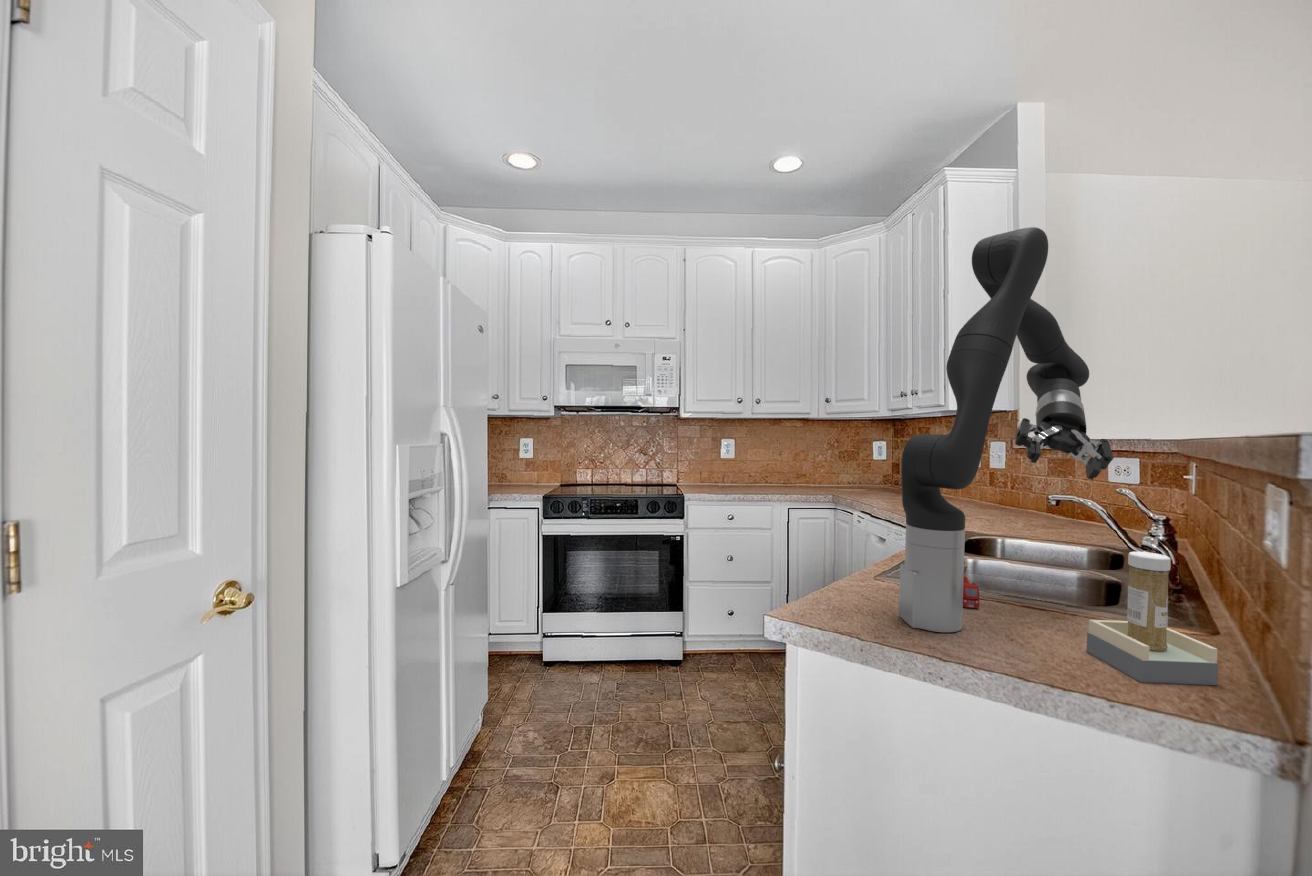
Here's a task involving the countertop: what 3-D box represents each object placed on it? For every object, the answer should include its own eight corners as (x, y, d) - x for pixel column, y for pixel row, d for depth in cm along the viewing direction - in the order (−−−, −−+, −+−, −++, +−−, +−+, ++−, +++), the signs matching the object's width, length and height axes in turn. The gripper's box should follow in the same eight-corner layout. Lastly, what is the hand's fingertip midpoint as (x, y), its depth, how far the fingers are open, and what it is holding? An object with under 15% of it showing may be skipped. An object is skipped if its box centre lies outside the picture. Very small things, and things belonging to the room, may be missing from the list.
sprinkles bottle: (1174, 654, 76) (1177, 559, 76) (1133, 649, 77) (1137, 555, 77) (1157, 642, 80) (1160, 552, 80) (1119, 637, 82) (1122, 549, 81)
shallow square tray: (1140, 682, 74) (1141, 645, 74) (1086, 651, 84) (1087, 619, 84) (1217, 685, 73) (1219, 648, 73) (1154, 653, 83) (1155, 621, 83)
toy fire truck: (962, 609, 103) (963, 558, 103) (939, 587, 116) (940, 543, 116) (981, 610, 102) (983, 559, 102) (956, 589, 116) (957, 544, 115)
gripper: (1027, 390, 104) (1027, 437, 93) (1114, 412, 99) (1125, 464, 88) (1010, 421, 109) (1008, 469, 98) (1092, 443, 104) (1100, 496, 93)
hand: (1063, 467), depth 93 cm, fingers open, 8 cm apart
